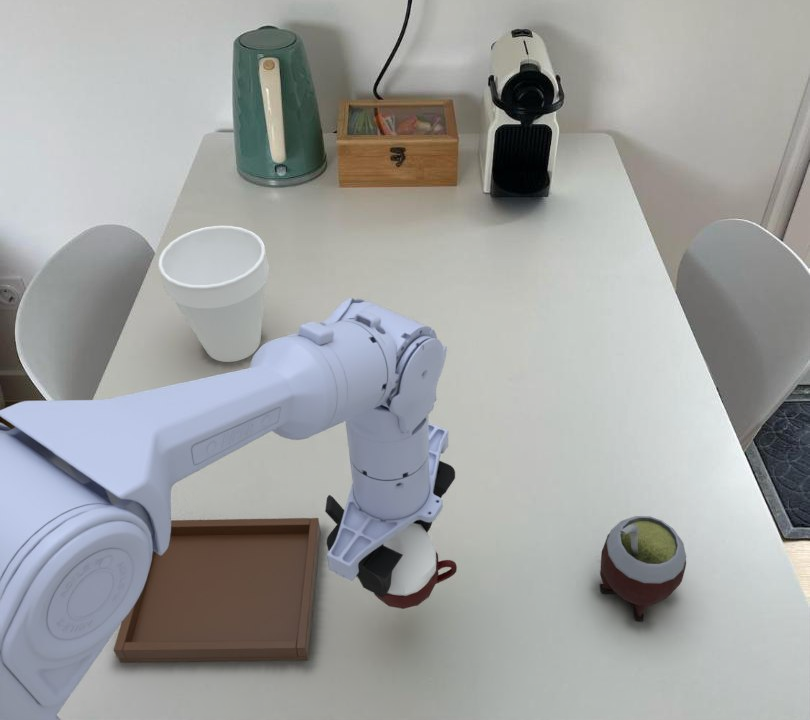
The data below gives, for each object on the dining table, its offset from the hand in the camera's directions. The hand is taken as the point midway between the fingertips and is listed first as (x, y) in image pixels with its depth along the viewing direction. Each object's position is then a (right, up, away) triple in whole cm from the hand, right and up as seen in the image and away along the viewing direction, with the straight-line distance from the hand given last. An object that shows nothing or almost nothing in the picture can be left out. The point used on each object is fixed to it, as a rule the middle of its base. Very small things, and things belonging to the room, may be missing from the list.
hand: (396, 558), depth 67 cm
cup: (-21, +18, +35) cm, 45 cm away
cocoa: (0, -3, +3) cm, 4 cm away
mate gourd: (+22, -5, +7) cm, 23 cm away
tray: (-16, -5, +9) cm, 19 cm away
